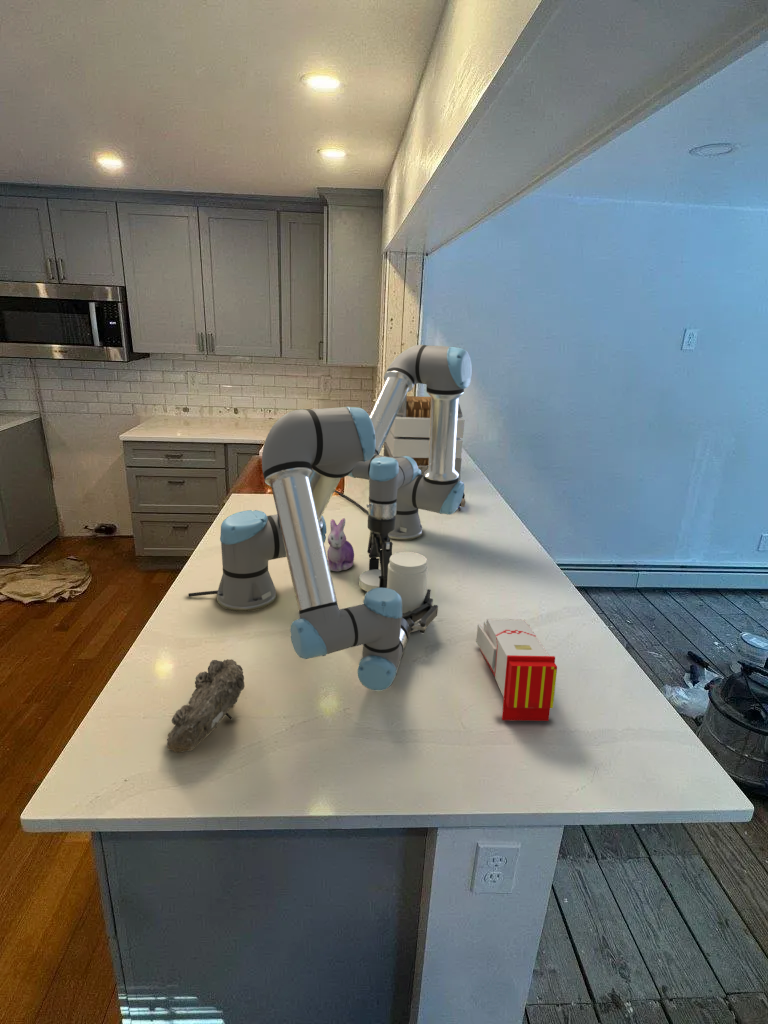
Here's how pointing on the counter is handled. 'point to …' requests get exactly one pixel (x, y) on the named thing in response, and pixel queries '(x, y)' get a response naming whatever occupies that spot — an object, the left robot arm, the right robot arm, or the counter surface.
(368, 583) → the lid
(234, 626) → the counter surface
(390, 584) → the jar
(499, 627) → the toy
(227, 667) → the fossil
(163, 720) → the counter surface
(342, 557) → the figurine
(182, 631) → the counter surface
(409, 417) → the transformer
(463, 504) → the figurine character
